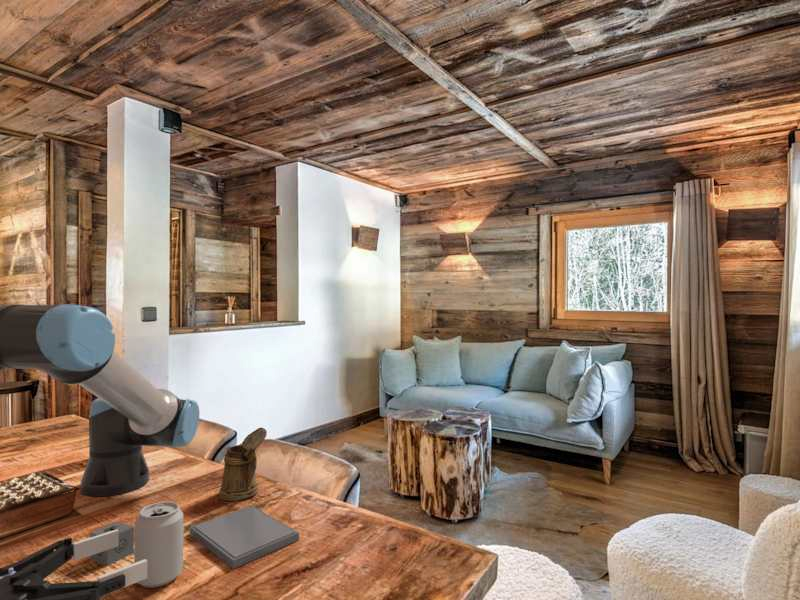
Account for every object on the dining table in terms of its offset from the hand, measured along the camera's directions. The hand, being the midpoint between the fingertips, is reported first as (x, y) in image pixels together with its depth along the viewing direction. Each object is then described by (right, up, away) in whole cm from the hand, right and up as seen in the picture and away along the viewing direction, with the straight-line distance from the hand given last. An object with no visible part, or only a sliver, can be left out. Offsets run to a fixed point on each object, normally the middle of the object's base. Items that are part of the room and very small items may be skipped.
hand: (131, 552), depth 78 cm
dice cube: (-9, -6, +10) cm, 15 cm away
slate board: (+13, -6, +17) cm, 23 cm away
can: (+3, -6, +4) cm, 8 cm away
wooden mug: (+6, -6, +37) cm, 38 cm away
